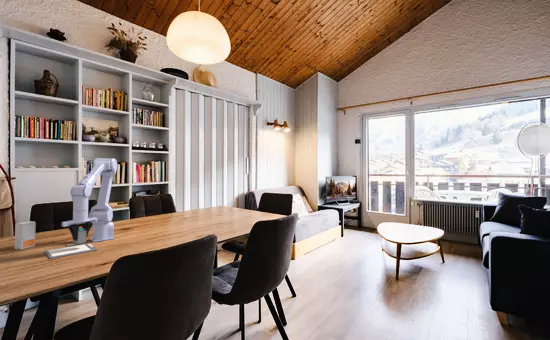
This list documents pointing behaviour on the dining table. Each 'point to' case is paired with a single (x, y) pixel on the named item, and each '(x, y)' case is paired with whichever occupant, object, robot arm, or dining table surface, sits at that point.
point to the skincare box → (24, 235)
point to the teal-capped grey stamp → (80, 237)
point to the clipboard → (69, 250)
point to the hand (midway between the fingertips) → (80, 239)
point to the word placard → (71, 245)
